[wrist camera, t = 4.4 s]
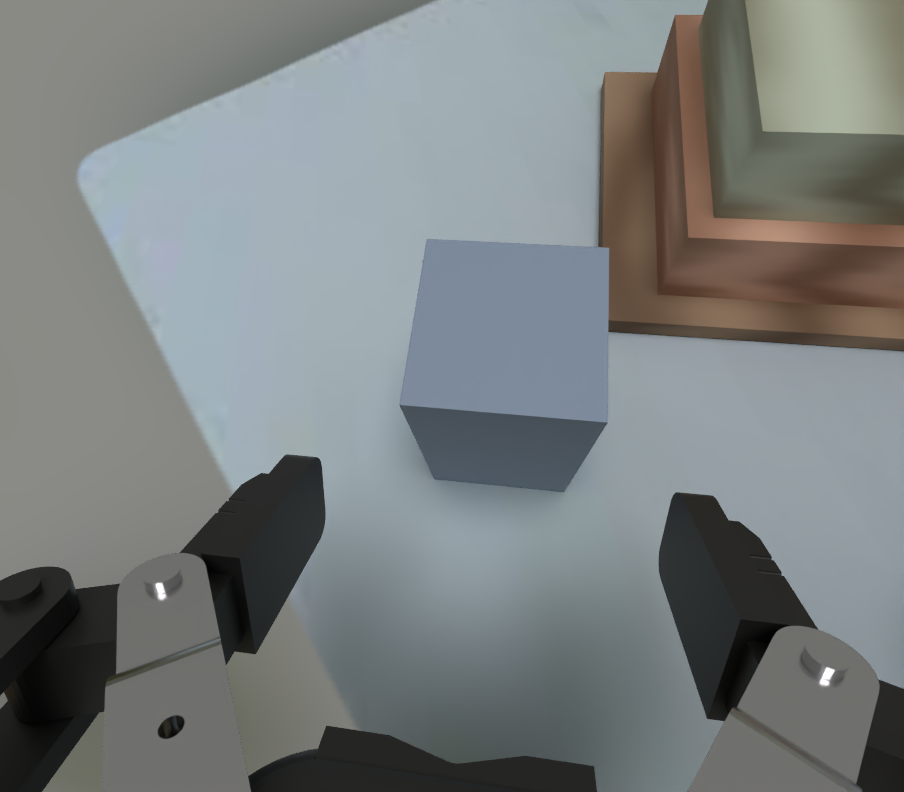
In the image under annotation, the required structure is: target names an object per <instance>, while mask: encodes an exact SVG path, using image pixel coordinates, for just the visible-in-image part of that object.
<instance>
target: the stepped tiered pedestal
mask: <svg viewBox="0 0 904 792" xmlns="http://www.w3.org/2000/svg"><path fill="white" fill-rule="evenodd" d="M599 247H602V248H609V316H608V331H610V332H625V333H641V334H656V335H671V336H686V337H702V338H717V339H732V340H747V341H763V342H778V343H793V344H808V345H824V346H839V347H854V348H869V349H885V350H900V351H904V0H708V3H707V6H706V9H705V12H704V14H703V15H675V17H674V20H673V24H672V27H671V30H670V33H669V37H668V40H667V43H666V46H665V50H664V53H663V56H662V59H661V63H660V66H659V69H658V72H657V73H641V72H605V75H604V80H603V84H602V96H601V155H600V213H599Z"/></svg>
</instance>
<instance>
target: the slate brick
mask: <svg viewBox="0 0 904 792" xmlns="http://www.w3.org/2000/svg"><path fill="white" fill-rule="evenodd" d="M608 316H609V248H602V247H582V246H561V245H540V244H520V243H499V242H478V241H458V240H437V239H427V240H426V246H425V253H424V259H423V265H422V271H421V277H420V283H419V289H418V295H417V301H416V307H415V313H414V319H413V326H412V332H411V338H410V344H409V350H408V356H407V362H406V368H405V374H404V380H403V386H402V393H401V399H400V407H401V409H402V411H403V413H404V416H405V418H406V420H407V422H408V424H409V426H410V428H411V430H412V433H413V435H414V437H415V439H416V441H417V443H418V445H419V447H420V450H421V452H422V454H423V456H424V458H425V460H426V462H427V464H428V467H429V469H430V471H431V473H432V475H433V477H434V479H439V480H449V481H459V482H469V483H479V484H489V485H499V486H509V487H519V488H529V489H539V490H549V491H559V492H564V491H565V490H566V488H567V486H568V485H569V483H570V482H571V480H572V478H573V477H574V475H575V474H576V472H577V470H578V469H579V467H580V466H581V464H582V462H583V461H584V459H585V458H586V456H587V454H588V453H589V451H590V450H591V448H592V447H593V445H594V443H595V442H596V440H597V439H598V437H599V435H600V434H601V432H602V431H603V429H604V427H605V426H606V424H607V423H608Z"/></svg>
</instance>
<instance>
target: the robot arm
mask: <svg viewBox="0 0 904 792" xmlns="http://www.w3.org/2000/svg"><path fill="white" fill-rule="evenodd" d="M324 525H325V501H324V488H323V476H322V465H321V461H320V459H319V458H317V457H308V456H298V455H285V456H284V457H283V458H282V459H281V460H280V461H279V463H278V464H277V465H276V466H275V467H274V468H273V470H272V471H271V472H270V473H269V474H264V473H261V474H259V475H257V476H256V477H254V478H252V479H250V480H249V481H247V482H245V483H244V484H242V485H241V486H240V487H239V488H238V489H237V490H236V491H235V493H234V494H233V495H232V496H231V497H230V498H229V501H226V503H225V504H224V505H223V506H222V507H221V508H220V509H219V511H218V513H216V514H215V515H214V516H213V517H212V518H211V519H210V520H209V521H208V522H207V523H206V525H205V526H204V527H203V528H202V529H201V530H200V531H199V532H198V533H197V535H196V536H195V537H194V538H193V539H192V540H191V541H190V542H189V543H188V544H187V546H185V548H184V549H183V550H182V551H181V552H180V553H174V554H167V555H163V556H159V557H156V558H153V559H151V560H149V561H147V562H145V563H143V564H141V565H139V566H138V567H136V568H135V569H133V570H132V571H131V572H130V573H129V574H128V575H127V576H126V577H125V578H124V579H123V580H122V582H121V583H120V584H115V585H106V586H98V587H89V588H82V589H75V587H74V584H73V581H72V578H71V576H70V574H69V572H68V571H66V570H65V569H62V568H59V567H39V568H34V569H29V570H25V571H22V572H19V573H16V574H13V575H11V576H9V577H7V578H5V579H3V580H1V581H0V695H1V694H2V693H3V692H4V693H5V695H6V697H7V700H8V702H7V703H6V704H5V705H4V706H3V707H2V708H1V709H0V792H42V791H43V789H44V788H45V787H46V785H47V784H48V783H49V781H50V780H51V778H52V777H53V776H54V774H55V773H56V771H57V770H58V769H59V767H60V766H61V765H62V763H63V762H64V760H65V759H66V757H67V756H68V755H69V753H70V752H71V751H72V749H73V748H74V747H75V745H76V744H77V742H78V741H79V740H80V738H81V737H82V736H83V734H84V733H85V731H86V730H87V728H88V727H89V726H90V724H91V723H92V722H93V720H94V719H95V717H96V716H97V715H98V713H99V712H104V738H103V766H102V792H597V789H596V781H595V772H594V766H588V765H582V764H575V763H569V762H562V761H555V760H549V759H542V758H536V757H529V756H521V757H513V758H504V759H496V760H488V761H479V762H471V763H463V764H455V763H450V762H447V761H445V760H443V759H441V758H439V757H436V756H434V755H432V754H430V753H427V752H425V751H423V750H421V749H419V748H416V747H414V746H412V745H410V744H407V743H405V742H403V741H401V740H399V739H396V738H394V737H392V736H390V735H384V734H377V733H371V732H364V731H357V730H350V729H344V728H337V727H331V726H326V729H325V731H324V734H323V737H322V739H321V742H320V745H319V748H318V749H313V750H307V751H303V752H299V753H296V754H292V755H289V756H286V757H284V758H281V759H279V760H276V761H274V762H272V763H270V764H268V765H266V766H264V767H262V768H261V769H259V770H257V771H256V772H254V773H253V774H251V775H249V776H248V774H247V768H246V763H245V758H244V753H243V748H242V743H241V738H240V733H239V728H238V723H237V718H236V714H235V709H234V704H233V698H232V693H231V688H230V683H229V678H228V673H227V669H226V664H227V663H228V661H229V660H230V658H231V656H232V655H233V653H234V652H235V651H236V652H243V653H251V654H256V653H257V651H258V649H259V647H260V646H261V643H262V642H263V640H264V638H265V637H266V635H267V633H268V631H269V630H270V628H271V626H272V624H273V622H274V621H275V619H276V617H277V615H278V614H279V612H280V610H281V608H282V606H283V605H284V603H285V601H286V599H287V597H288V596H289V594H290V592H291V590H292V589H293V587H294V585H295V583H296V581H297V580H298V578H299V576H300V574H301V572H302V571H303V569H304V567H305V565H306V564H307V562H308V560H309V558H310V556H311V555H312V553H313V551H314V549H315V547H316V546H317V544H318V542H319V540H320V538H321V536H322V533H323V529H324ZM659 573H660V578H661V581H662V584H663V587H664V590H665V593H666V596H667V599H668V602H669V605H670V608H671V611H672V614H673V617H674V620H675V623H676V626H677V629H678V632H679V635H680V638H681V641H682V644H683V647H684V650H685V653H686V656H687V659H688V662H689V665H690V668H691V671H692V674H693V677H694V680H695V683H696V686H697V689H698V692H699V695H700V698H701V701H702V704H703V707H704V710H705V713H706V716H707V719H713V720H720V721H725V722H724V724H723V726H722V728H721V730H720V731H719V733H718V735H717V737H716V739H715V741H714V743H713V745H712V747H711V749H710V750H709V752H708V754H707V756H706V758H705V760H704V762H703V764H702V766H701V768H700V769H699V771H698V773H697V775H696V777H695V779H694V781H693V783H692V785H691V787H690V789H689V790H688V792H904V689H902V688H900V687H897V686H894V685H891V684H889V683H886V682H884V681H881V680H879V679H878V678H877V676H876V673H875V672H874V670H873V669H872V667H871V666H870V664H869V663H868V662H867V661H866V660H865V659H864V658H863V657H862V656H861V655H860V654H859V653H858V652H857V651H855V650H854V649H853V648H852V647H850V646H849V645H847V644H846V643H844V642H843V641H841V640H839V639H838V638H836V637H834V636H832V635H830V634H827V633H825V632H823V631H820V630H818V629H817V627H816V626H815V624H814V622H813V621H812V619H811V618H810V616H809V615H808V613H807V611H806V610H805V608H804V607H803V605H802V604H801V602H800V601H799V599H798V597H797V596H796V594H795V593H794V591H793V590H792V588H791V586H790V585H789V583H788V582H787V580H786V579H785V577H784V576H781V571H780V569H779V568H778V566H777V565H776V563H775V561H772V559H771V555H770V554H769V552H768V551H767V549H766V547H765V546H764V544H763V543H762V541H761V540H760V538H759V537H757V536H756V535H755V534H754V533H753V532H751V531H750V530H749V529H748V528H746V527H745V526H744V525H743V524H742V523H740V522H738V521H729V520H728V519H727V517H726V515H725V514H724V512H723V510H722V508H721V507H720V505H719V503H718V502H717V500H716V498H715V497H714V496H710V495H699V494H689V493H678V492H677V493H675V494H674V495H673V497H672V500H671V503H670V508H669V512H668V516H667V520H666V525H665V529H664V533H663V537H662V542H661V546H660V551H659Z"/></svg>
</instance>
